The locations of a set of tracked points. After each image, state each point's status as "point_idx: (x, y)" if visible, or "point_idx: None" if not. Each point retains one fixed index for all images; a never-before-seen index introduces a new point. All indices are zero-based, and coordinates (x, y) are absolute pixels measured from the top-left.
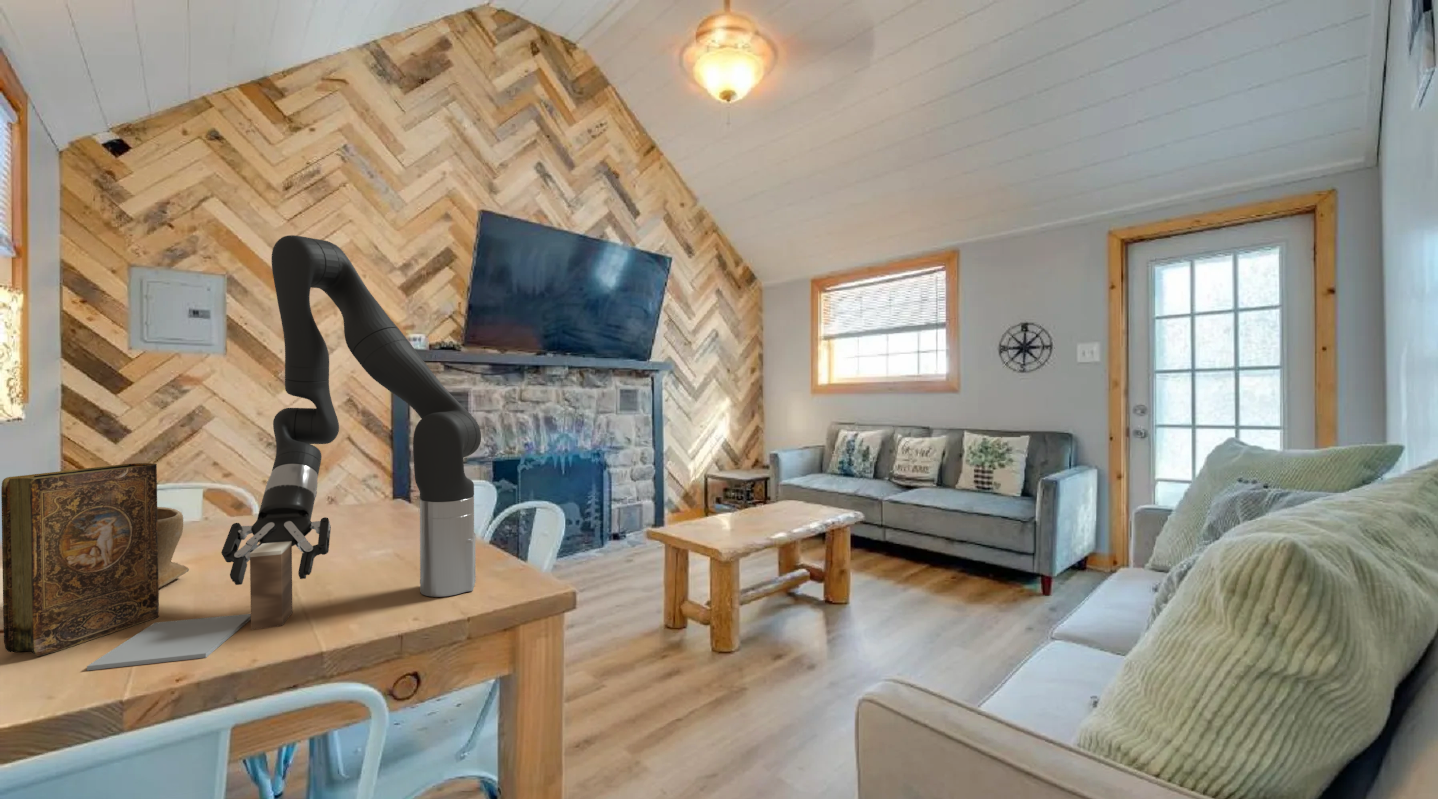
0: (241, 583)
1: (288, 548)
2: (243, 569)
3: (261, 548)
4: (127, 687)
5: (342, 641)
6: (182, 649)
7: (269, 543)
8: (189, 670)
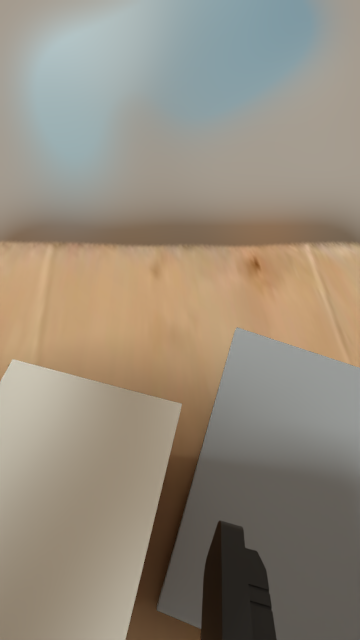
0: (206, 564)
1: None
2: (210, 620)
3: (108, 529)
4: (320, 279)
5: (12, 265)
6: (286, 378)
7: None
8: (249, 290)
